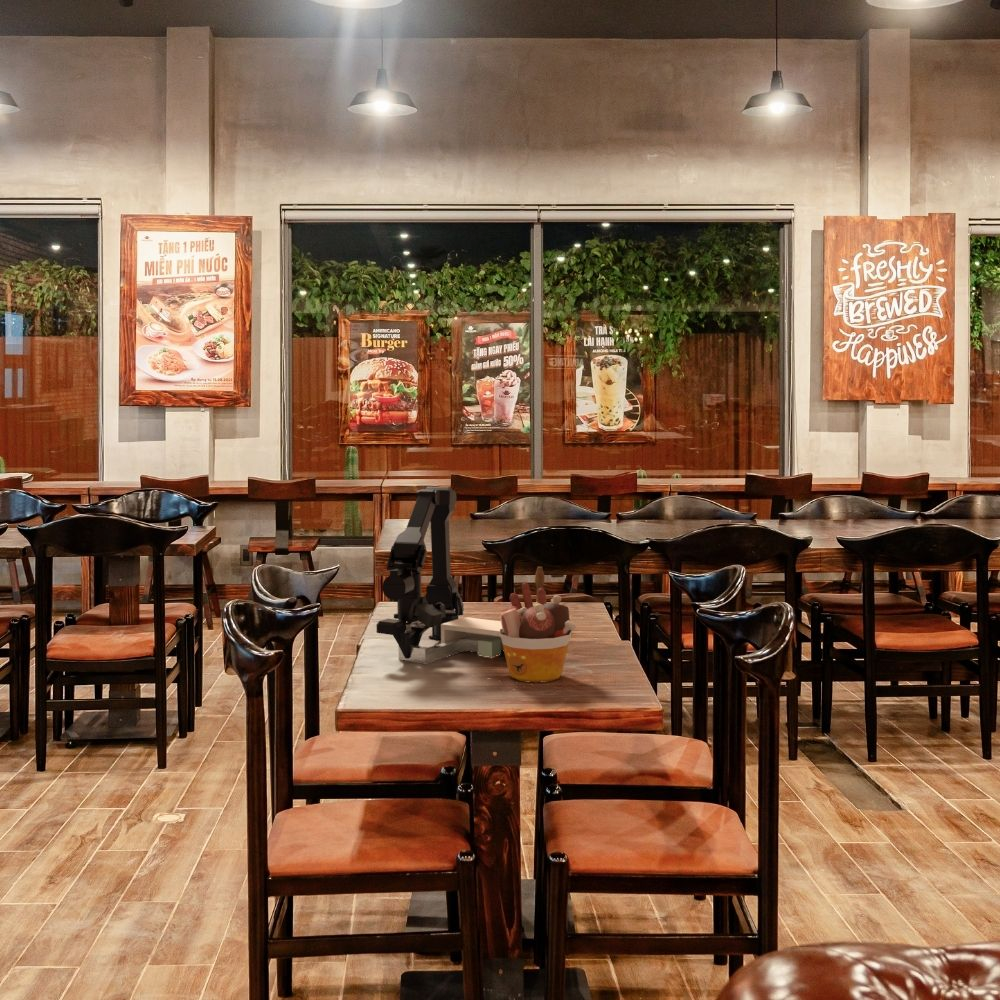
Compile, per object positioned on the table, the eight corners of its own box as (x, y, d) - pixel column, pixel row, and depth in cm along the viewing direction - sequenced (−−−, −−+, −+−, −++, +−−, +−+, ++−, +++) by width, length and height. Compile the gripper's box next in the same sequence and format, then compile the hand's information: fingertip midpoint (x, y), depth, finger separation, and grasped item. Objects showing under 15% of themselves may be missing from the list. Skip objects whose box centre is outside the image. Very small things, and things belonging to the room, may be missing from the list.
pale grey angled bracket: (398, 659, 274) (398, 645, 274) (444, 646, 289) (443, 632, 289) (442, 666, 267) (442, 651, 266) (486, 652, 282) (486, 638, 281)
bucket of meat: (582, 685, 249) (582, 594, 247) (507, 689, 246) (507, 597, 244) (560, 664, 268) (560, 580, 267) (490, 668, 265) (490, 582, 264)
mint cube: (478, 656, 278) (477, 640, 277) (486, 653, 281) (486, 637, 281) (492, 658, 275) (491, 642, 275) (500, 655, 279) (500, 639, 278)
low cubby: (441, 653, 281) (440, 624, 280) (465, 645, 290) (464, 617, 289) (511, 662, 270) (510, 632, 270) (533, 654, 279) (533, 625, 279)
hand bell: (557, 622, 319) (557, 565, 317) (549, 627, 311) (549, 569, 310) (529, 620, 322) (529, 563, 320) (520, 626, 314) (520, 568, 312)
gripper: (413, 602, 260) (414, 669, 261) (459, 589, 275) (460, 653, 277) (374, 597, 266) (375, 663, 267) (421, 585, 281) (422, 648, 283)
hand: (410, 657), depth 273 cm, fingers closed on pale grey angled bracket, 2 cm apart
